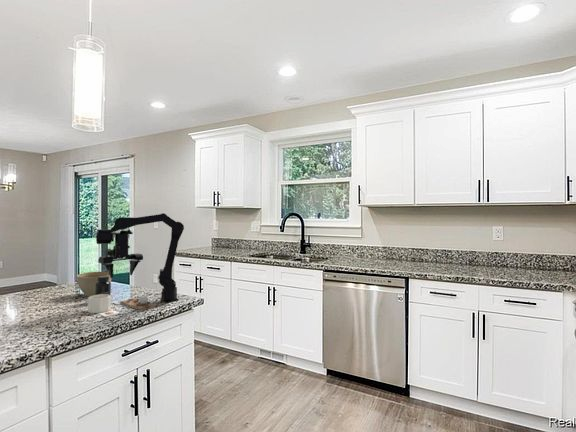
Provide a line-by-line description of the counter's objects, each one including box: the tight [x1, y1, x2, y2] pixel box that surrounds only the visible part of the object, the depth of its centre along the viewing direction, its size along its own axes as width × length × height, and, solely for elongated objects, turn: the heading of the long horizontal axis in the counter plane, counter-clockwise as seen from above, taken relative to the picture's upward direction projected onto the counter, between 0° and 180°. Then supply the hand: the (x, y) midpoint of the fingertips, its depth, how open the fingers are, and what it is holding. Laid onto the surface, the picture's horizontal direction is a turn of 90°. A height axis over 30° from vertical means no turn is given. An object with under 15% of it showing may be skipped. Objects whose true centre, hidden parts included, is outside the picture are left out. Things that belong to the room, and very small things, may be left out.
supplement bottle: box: [95, 276, 112, 296], centre depth 161 cm, size 7×7×12 cm
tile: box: [98, 310, 120, 318], centre depth 140 cm, size 6×6×1 cm
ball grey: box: [138, 295, 149, 305], centre depth 152 cm, size 4×4×4 cm
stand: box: [119, 297, 158, 311], centre depth 154 cm, size 8×18×2 cm, turn 53°
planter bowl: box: [76, 271, 113, 298], centre depth 173 cm, size 16×16×11 cm
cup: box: [87, 294, 112, 314], centre depth 145 cm, size 8×8×6 cm
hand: (121, 276), depth 156 cm, fingers open, 9 cm apart
